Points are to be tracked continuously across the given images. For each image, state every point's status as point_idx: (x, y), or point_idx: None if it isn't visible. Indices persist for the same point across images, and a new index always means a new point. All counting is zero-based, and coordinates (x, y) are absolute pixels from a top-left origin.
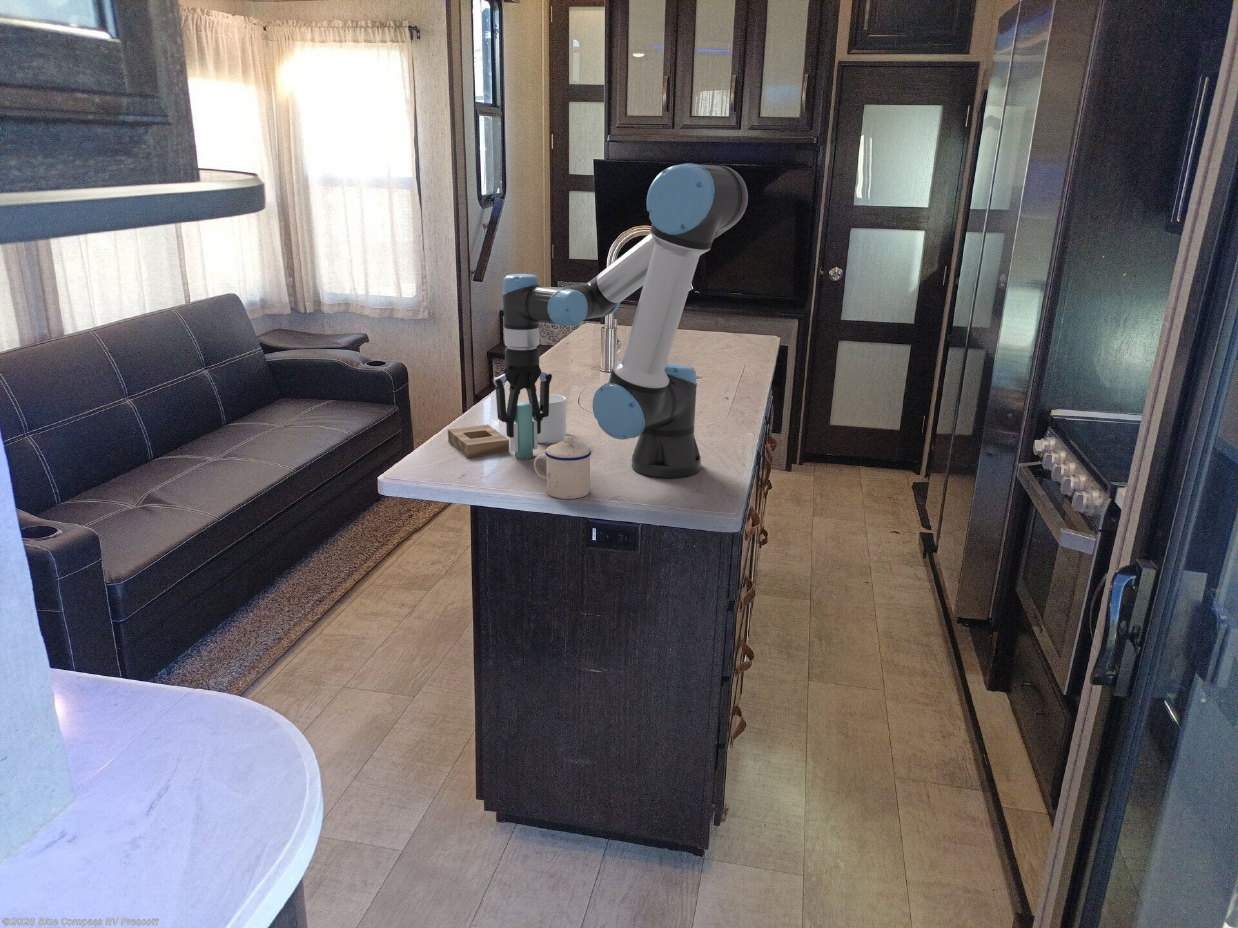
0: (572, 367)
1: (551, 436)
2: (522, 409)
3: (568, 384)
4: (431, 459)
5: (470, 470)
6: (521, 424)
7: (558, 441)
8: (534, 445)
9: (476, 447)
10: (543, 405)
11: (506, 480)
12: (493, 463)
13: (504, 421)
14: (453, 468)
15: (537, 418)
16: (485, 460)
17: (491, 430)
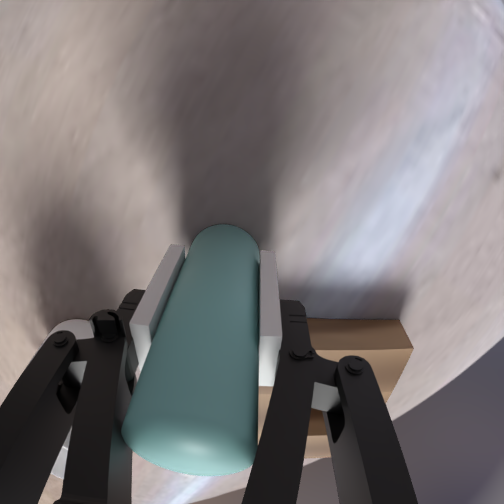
0: (49, 500)
1: (86, 336)
2: (219, 403)
3: (50, 486)
4: (464, 340)
5: (462, 206)
6: (237, 325)
7: (73, 320)
8: (179, 253)
9: (380, 340)
10: (50, 391)
11: (419, 36)
12: (368, 233)
13: (349, 358)
14: (480, 251)
15: (119, 337)
16: (372, 275)
17: (259, 429)
